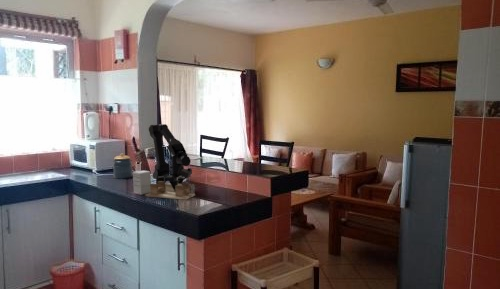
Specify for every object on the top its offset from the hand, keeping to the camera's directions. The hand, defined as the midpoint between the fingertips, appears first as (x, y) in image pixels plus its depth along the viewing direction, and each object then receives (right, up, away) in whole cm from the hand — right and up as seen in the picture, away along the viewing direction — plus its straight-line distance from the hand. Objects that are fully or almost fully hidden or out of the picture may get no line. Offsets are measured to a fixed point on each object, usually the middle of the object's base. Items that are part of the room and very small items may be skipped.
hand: (177, 191), depth 216 cm
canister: (-50, +3, +55) cm, 74 cm away
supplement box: (-21, -2, +1) cm, 21 cm away
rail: (0, -1, 0) cm, 1 cm away
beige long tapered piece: (-3, -2, -7) cm, 8 cm away
